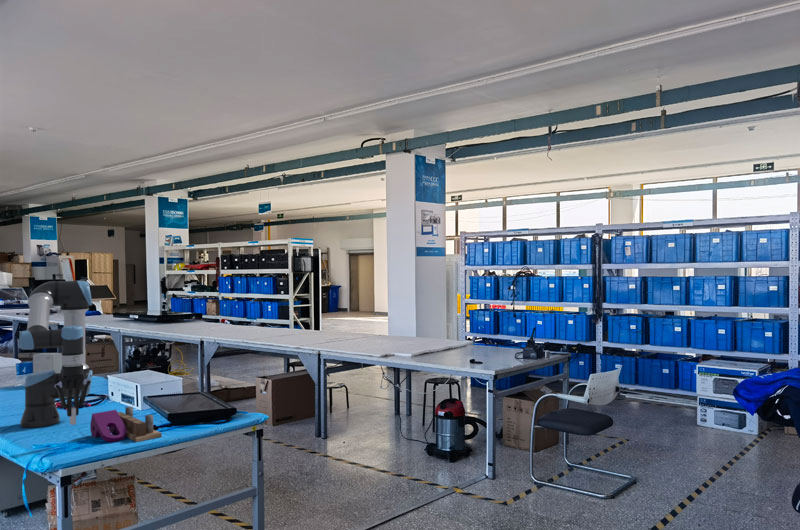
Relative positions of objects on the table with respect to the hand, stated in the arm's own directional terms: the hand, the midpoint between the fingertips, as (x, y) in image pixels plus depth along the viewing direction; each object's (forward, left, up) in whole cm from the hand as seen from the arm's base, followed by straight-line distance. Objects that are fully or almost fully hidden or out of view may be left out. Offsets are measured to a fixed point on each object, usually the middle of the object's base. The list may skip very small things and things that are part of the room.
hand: (72, 423), depth 229 cm
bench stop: (+1, +23, -8) cm, 24 cm away
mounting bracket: (+2, +13, -8) cm, 16 cm away
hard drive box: (-150, +28, -8) cm, 152 cm away
